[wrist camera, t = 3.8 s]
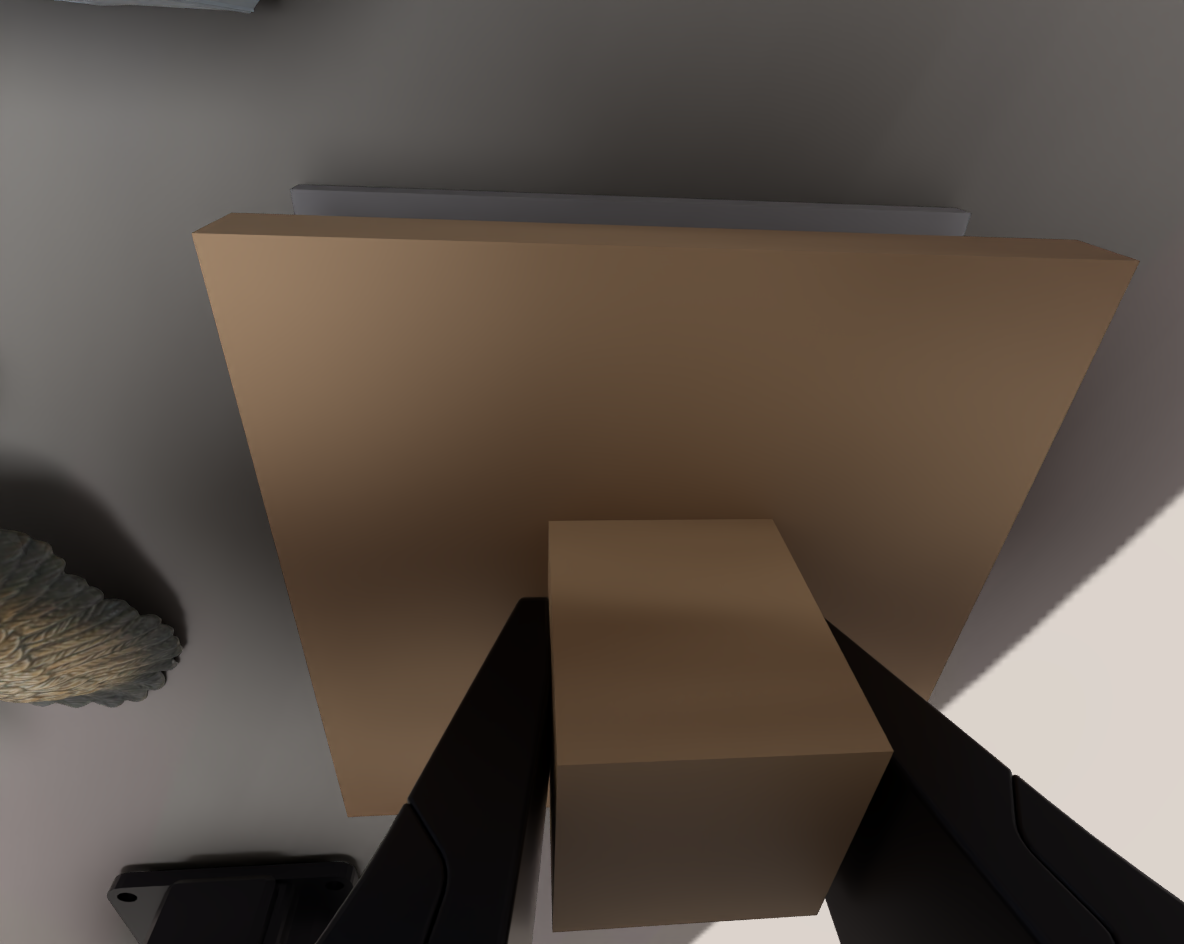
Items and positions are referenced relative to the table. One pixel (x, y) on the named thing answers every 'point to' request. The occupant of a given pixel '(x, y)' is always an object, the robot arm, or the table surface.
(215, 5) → the bowl
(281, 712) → the table surface
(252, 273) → the lid
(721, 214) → the mat
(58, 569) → the eagle figurine
